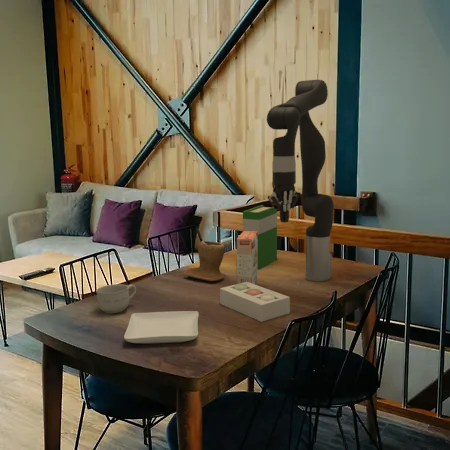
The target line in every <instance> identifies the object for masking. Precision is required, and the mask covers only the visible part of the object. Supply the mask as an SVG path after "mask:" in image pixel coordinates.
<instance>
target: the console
mask: <svg viewBox="0 0 450 450" xmlns="http://www.w3.org/2000/svg"><path fill="white" fill-rule="evenodd" d="M240 284H245V285H247V289H246V290H242V291H238V290H236V289H235V288H234V286H235V285H237V283H236V284H233V285H227V286H223V287H220V288H219V303H220V305H223V306H225V307H226V308H229V309H231V310H234V311H236V312H238V313H240V314H243V315H244V316H248V317H250V318H252V319H253V320H256V321H259V322H261V323H262V322H265V321H269V320H272V319H275V318H278V317H282V316H286V315H288V314H291V297H290V296H288V295H285V294H283V293H279V292H276V291H275V290H272V289H268V288H265V287H263V286H260V285H258V284H257V285H255V284H252V283H249V282H244V283H240ZM249 289H259V290H260V291H261V294H259V295H255V296H251V295H249V294H247V290H249ZM263 294H272V295H274V300H271V301H264V300H261V295H263Z"/></svg>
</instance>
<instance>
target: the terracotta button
mask: <svg viewBox="0 0 450 450" xmlns="http://www.w3.org/2000/svg"><path fill="white" fill-rule="evenodd" d="M247 294H249V295H251V296H255V295H259V294H261V291H260V290H259V289H249V290H247Z"/></svg>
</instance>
